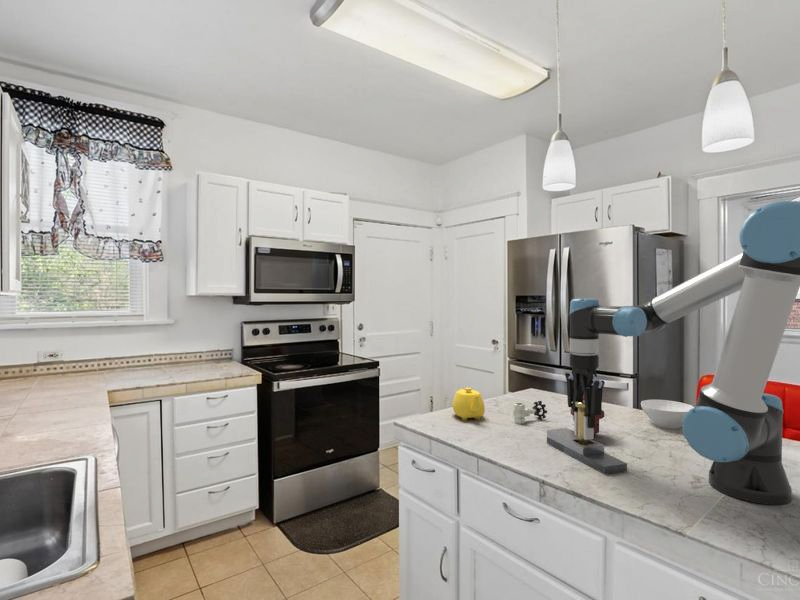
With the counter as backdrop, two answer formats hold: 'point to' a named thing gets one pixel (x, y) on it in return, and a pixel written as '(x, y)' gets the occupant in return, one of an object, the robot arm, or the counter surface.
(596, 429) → the mechanical component
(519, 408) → the valve
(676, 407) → the bowl
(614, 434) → the counter surface
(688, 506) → the counter surface
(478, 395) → the teapot
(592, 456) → the plate with square socket
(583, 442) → the brass knob
